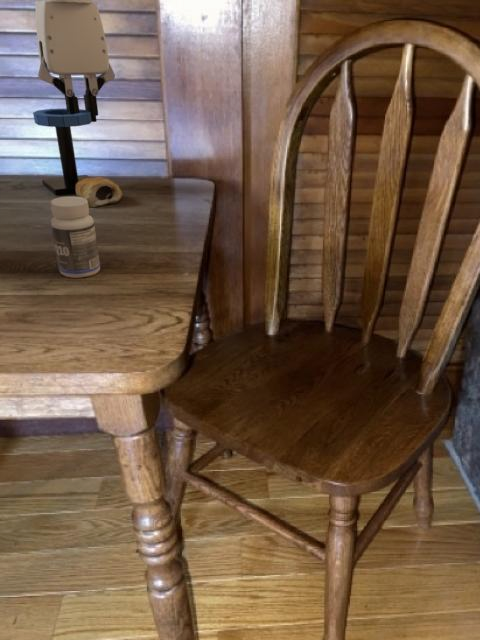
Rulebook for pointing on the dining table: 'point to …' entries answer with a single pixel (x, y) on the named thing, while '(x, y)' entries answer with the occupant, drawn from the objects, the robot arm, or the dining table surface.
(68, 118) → the ring
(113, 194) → the pastry
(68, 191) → the black upright rod
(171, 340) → the dining table surface
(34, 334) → the dining table surface
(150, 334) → the dining table surface
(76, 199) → the pill bottle
